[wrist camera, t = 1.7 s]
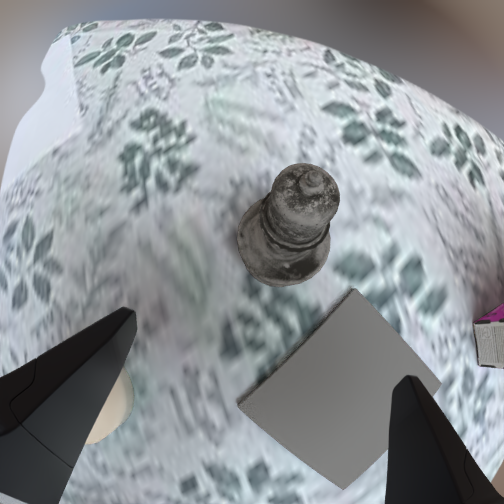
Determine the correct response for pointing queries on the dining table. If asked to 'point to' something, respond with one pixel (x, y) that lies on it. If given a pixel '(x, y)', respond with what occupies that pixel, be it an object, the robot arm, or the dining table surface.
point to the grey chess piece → (290, 227)
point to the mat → (338, 392)
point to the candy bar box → (490, 338)
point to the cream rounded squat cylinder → (114, 409)
